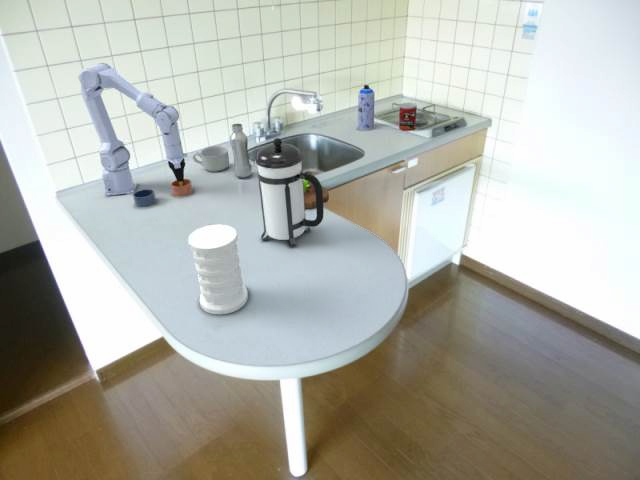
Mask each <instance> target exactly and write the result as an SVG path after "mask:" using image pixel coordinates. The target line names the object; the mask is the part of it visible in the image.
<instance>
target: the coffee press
mask: <svg viewBox="0 0 640 480" xmlns="http://www.w3.org/2000/svg"><path fill="white" fill-rule="evenodd" d="M254 160H255V161H254V163H255V164H256V165H257V171H256V173H257V179H258V188H259V196H260V197H259V198H260V206H261V214H262V225H263V233H262V234H261V236H260V238H261V240H262V242H266V241H267V240H269V238H271V239H274V240H278V241H288V244H289V247H290V248H292V247H296V242H295V239H296V238H298V237H300V236H301V235H303V233H304V232H306V233H308V232H310V230H311V228H315V227H318V226H319V225H320V224H321V223H322V221H323V220H324V214H325V213H324V203H323V191H322V187H323V186H322V183H321V182H320V180H319V179H318V178H317V177H316V176H315V175H314V176H313V175H311V174H310V173H306V174H305V172H304V169H303V165H302V162H303V153H302V152H301V151H300V149H299V148H297V146H295V145H293V144H289V143H283V141H282V139H281V138H279V137H276V138H274V140H273V142H272V144H269V145H266V146H263V147H262V148H260V150H258V152H257V154H256V156H255V159H254ZM304 179H305V180H307V181H309V182H311V183H312V184H313V186H314V188H315V192H316V207H315V210H316V217H315V219H314V220H311V219H306V209H305V204H304V188H303V180H304ZM306 227H307V229H306ZM265 235H266V236H265ZM264 237H265V238H264Z"/></svg>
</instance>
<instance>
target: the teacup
mask: <svg viewBox="0 0 640 480" xmlns="http://www.w3.org/2000/svg"><path fill="white" fill-rule="evenodd" d="M196 156H199V158H200V159H201V160H199V159H197V158H196ZM192 159H193V161H194V162H195V163H197V164H199V165H201V166H202V167H203V168H204V169H205V170H207V171H209V172H212V173H215V172H221V171H224V170H225V169H226V168H227V167H228V166H229V164H230V156H229V148H228V147H226V146H224V145H211V146H207V147H204V148H202V149H201V151H200V152H199V151H196V152H193V154H192Z"/></svg>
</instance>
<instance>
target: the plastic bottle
mask: <svg viewBox="0 0 640 480" xmlns="http://www.w3.org/2000/svg"><path fill="white" fill-rule="evenodd" d="M243 129H244V128H243V124H242V123H233V124H232V125H231V132H232V133H231V134H230V136H229V143H230V146H231V151H232V155H233V162H234V163H233V165H234V166H233V171H234V174H235V176H236V177H237V178H248V177H250V176H251V175H252V174H253V173H252V172H253V171H252V170H253V168H252V165H251V162H250V158H249V150H248V149H249V147H248V142H249V141H248V136H247V134H245V132H244V131H243Z"/></svg>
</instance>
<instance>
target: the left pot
mask: <svg viewBox="0 0 640 480" xmlns="http://www.w3.org/2000/svg"><path fill="white" fill-rule="evenodd" d="M132 198H133V201H134V206H136V207H137V208H148V207H151V206H153V205H155V204H156V203H157V201H158V200H157V197H156V192H155V190H154V189H150V188H144V189H139V190H136V191H134V192H133V194H132Z"/></svg>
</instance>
